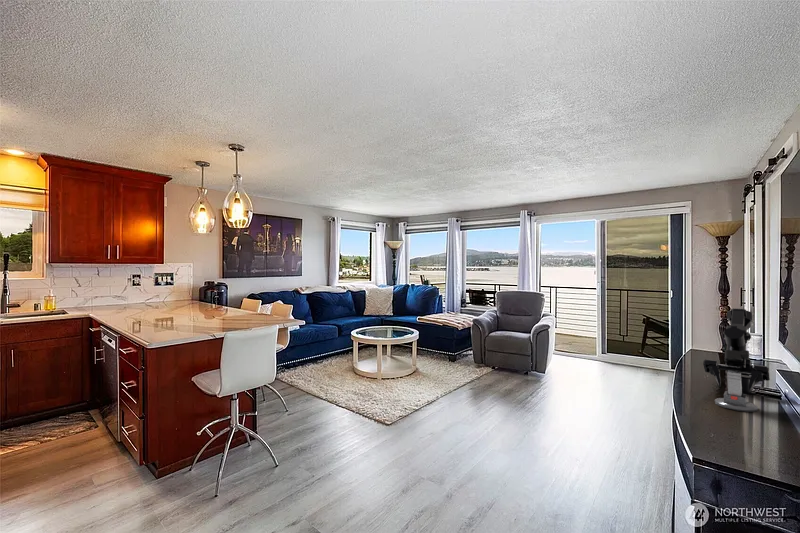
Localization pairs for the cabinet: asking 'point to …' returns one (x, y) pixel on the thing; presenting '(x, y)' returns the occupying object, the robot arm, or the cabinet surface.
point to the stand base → (736, 403)
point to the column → (734, 383)
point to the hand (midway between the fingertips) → (734, 387)
